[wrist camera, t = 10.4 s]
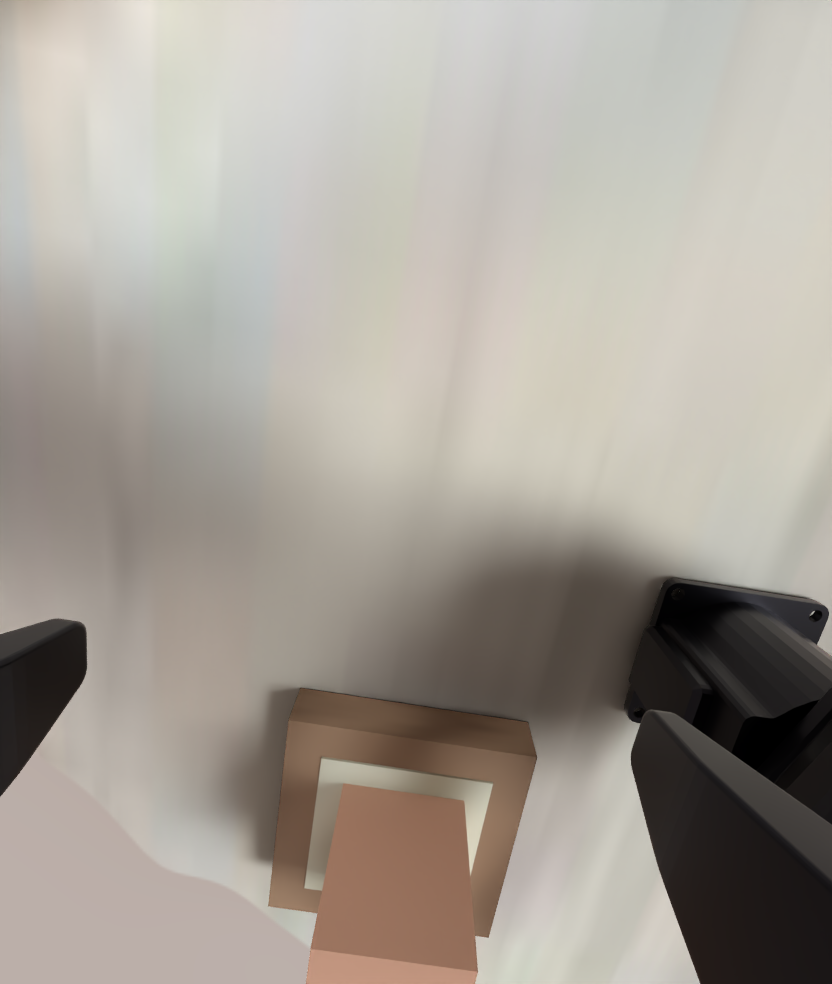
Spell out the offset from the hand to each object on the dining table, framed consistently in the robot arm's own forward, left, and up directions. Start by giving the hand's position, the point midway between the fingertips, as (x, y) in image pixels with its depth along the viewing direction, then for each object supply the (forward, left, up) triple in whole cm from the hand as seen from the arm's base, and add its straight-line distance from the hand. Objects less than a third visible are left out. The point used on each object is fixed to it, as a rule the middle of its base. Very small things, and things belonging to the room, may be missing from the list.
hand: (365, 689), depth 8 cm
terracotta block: (-2, +14, -10) cm, 18 cm away
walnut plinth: (-2, +14, -12) cm, 19 cm away
